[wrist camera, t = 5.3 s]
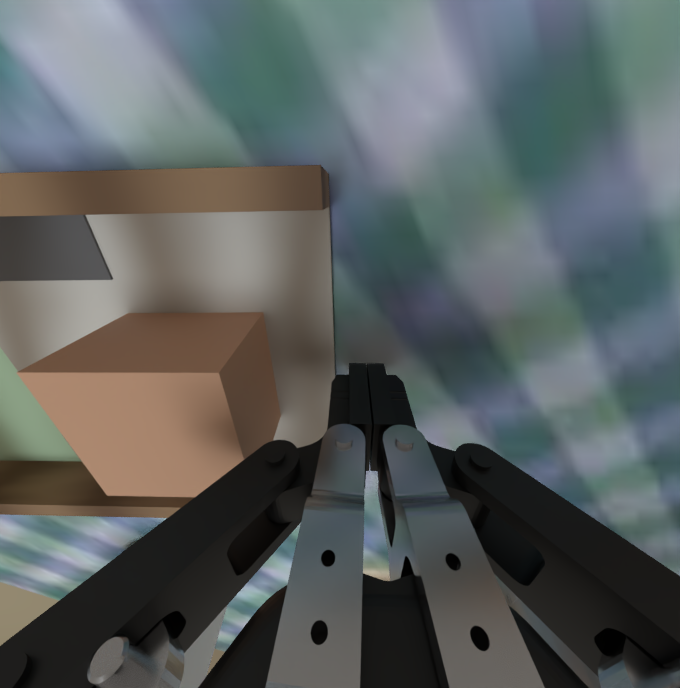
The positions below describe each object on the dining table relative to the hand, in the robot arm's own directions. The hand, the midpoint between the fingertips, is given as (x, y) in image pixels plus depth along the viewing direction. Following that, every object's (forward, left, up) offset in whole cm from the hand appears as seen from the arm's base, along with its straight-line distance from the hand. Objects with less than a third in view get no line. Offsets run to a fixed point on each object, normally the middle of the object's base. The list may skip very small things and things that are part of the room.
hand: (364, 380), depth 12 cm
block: (+7, 0, -1) cm, 7 cm away
